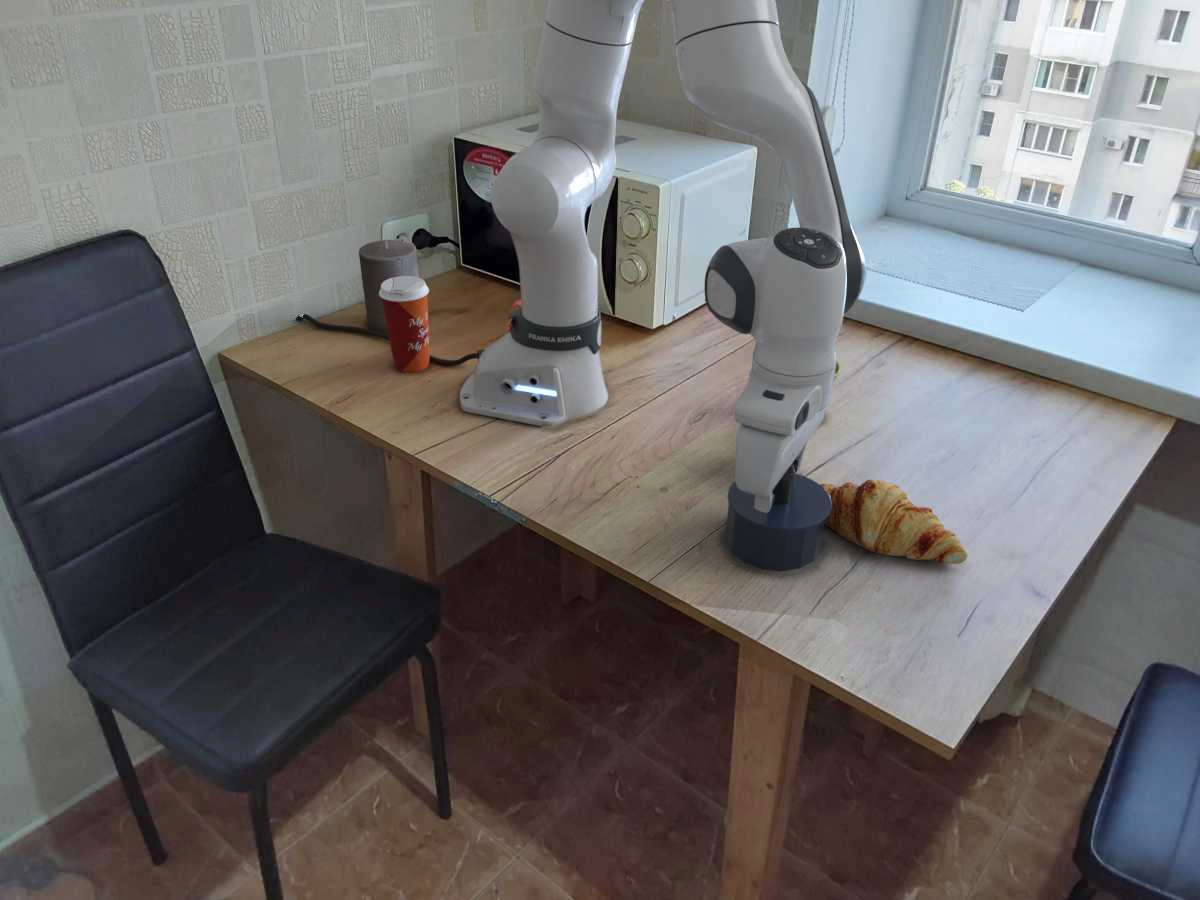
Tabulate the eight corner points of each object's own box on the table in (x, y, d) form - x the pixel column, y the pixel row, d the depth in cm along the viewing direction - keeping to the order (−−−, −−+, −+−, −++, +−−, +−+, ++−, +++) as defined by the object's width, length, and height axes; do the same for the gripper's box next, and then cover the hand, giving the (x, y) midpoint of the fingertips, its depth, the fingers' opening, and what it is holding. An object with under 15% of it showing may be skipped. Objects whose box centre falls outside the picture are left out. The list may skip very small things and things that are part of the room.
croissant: (965, 579, 116) (989, 517, 114) (948, 587, 107) (974, 520, 106) (805, 514, 126) (826, 457, 125) (778, 517, 118) (799, 455, 116)
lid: (725, 531, 109) (728, 494, 106) (729, 473, 119) (732, 438, 116) (833, 541, 107) (839, 503, 104) (828, 482, 117) (833, 446, 114)
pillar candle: (356, 324, 169) (344, 242, 161) (399, 307, 176) (390, 228, 168) (392, 340, 164) (382, 256, 156) (435, 322, 170) (427, 240, 162)
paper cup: (427, 377, 152) (419, 294, 145) (381, 373, 153) (370, 291, 146) (442, 355, 159) (434, 275, 152) (397, 352, 160) (388, 272, 153)
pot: (723, 569, 112) (726, 525, 109) (727, 513, 121) (731, 471, 118) (820, 578, 110) (827, 534, 107) (817, 522, 120) (824, 479, 116)
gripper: (795, 339, 113) (783, 440, 120) (728, 415, 98) (718, 524, 105) (848, 351, 111) (832, 453, 118) (787, 430, 95) (773, 542, 103)
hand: (778, 487), depth 111 cm, fingers open, 8 cm apart
